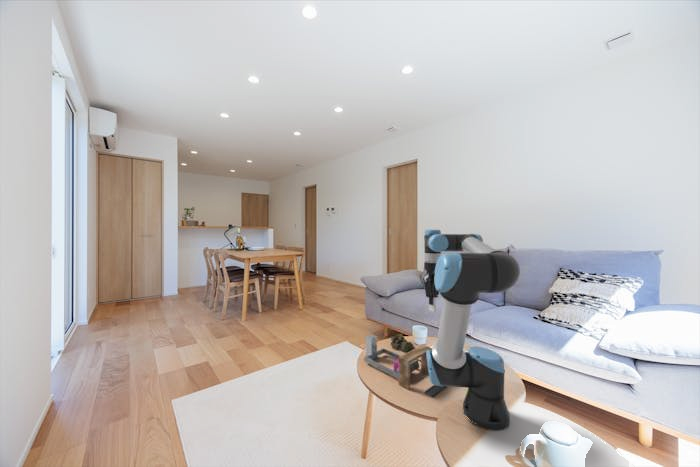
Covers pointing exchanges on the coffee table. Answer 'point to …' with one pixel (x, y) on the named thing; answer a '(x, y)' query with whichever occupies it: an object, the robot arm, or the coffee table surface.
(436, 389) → the pit tray
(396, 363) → the puzzle toy
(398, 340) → the rock
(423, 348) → the tunnel
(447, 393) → the coffee table surface
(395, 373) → the sled
